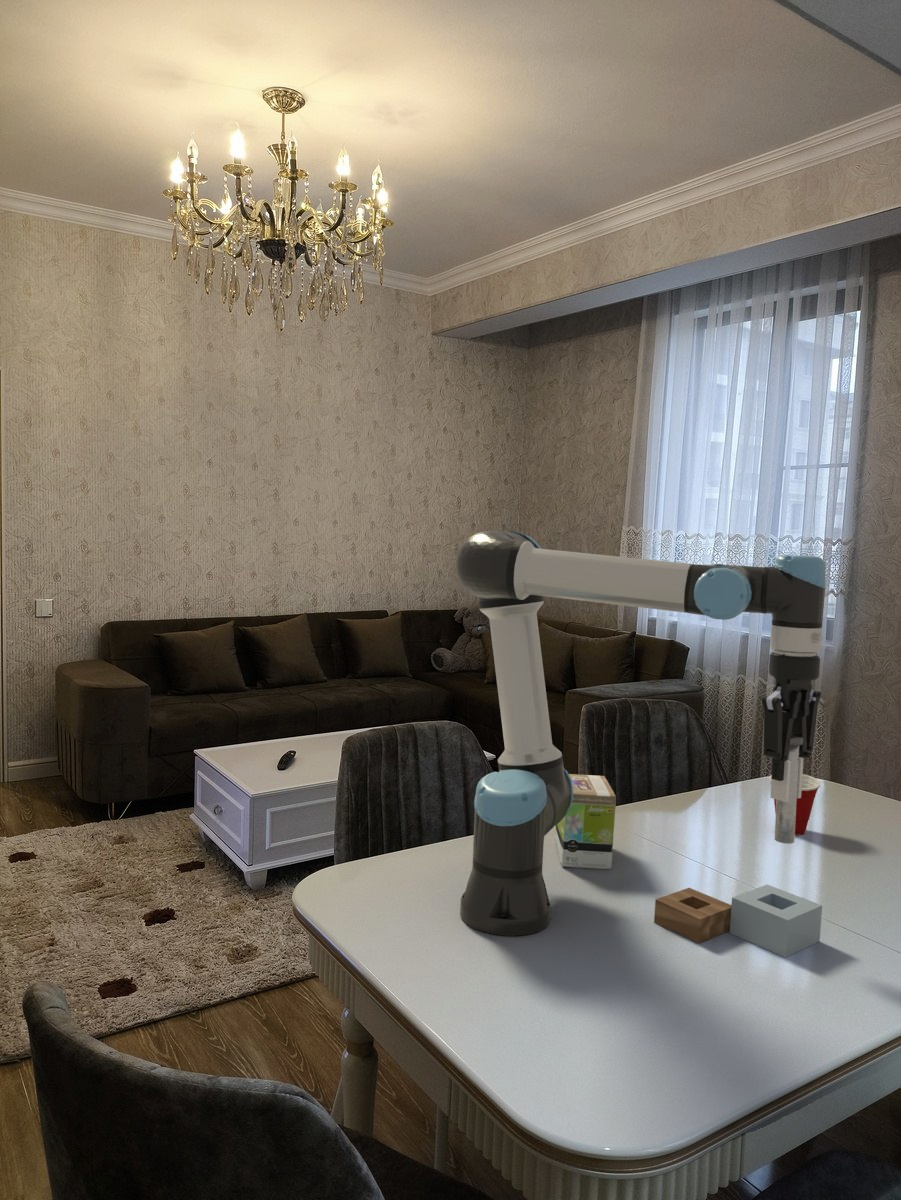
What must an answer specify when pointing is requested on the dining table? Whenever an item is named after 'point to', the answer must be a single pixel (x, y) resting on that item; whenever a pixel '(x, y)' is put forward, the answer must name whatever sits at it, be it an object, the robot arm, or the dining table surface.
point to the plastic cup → (804, 802)
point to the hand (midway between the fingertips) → (785, 797)
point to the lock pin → (788, 809)
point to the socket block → (776, 920)
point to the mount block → (693, 914)
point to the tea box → (587, 824)
